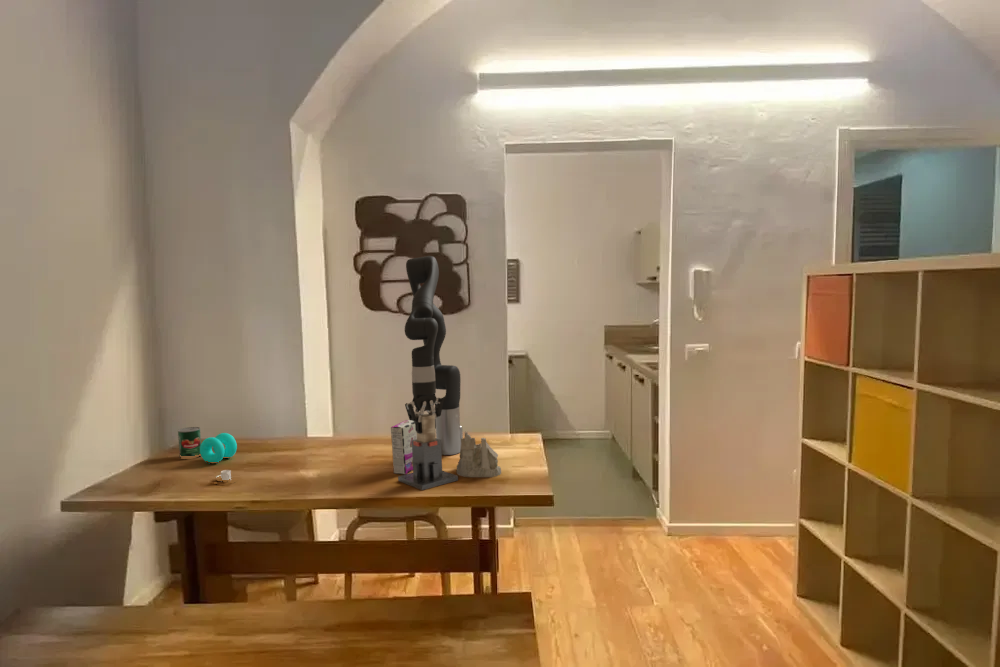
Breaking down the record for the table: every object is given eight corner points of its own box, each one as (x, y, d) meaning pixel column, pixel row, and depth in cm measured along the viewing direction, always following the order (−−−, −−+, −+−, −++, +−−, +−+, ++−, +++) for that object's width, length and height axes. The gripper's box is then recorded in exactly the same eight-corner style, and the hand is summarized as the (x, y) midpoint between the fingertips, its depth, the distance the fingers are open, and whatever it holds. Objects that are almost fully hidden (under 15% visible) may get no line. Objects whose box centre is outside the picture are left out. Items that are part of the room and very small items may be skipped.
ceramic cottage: (496, 478, 214) (493, 432, 214) (449, 477, 218) (446, 432, 218) (509, 467, 229) (507, 424, 229) (465, 467, 233) (462, 425, 233)
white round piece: (213, 480, 223) (213, 469, 223) (238, 477, 226) (238, 466, 226) (212, 488, 215) (212, 476, 215) (238, 484, 218) (238, 472, 218)
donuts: (199, 464, 244) (197, 437, 243) (217, 457, 254) (215, 431, 253) (221, 465, 241) (219, 438, 240) (239, 458, 251) (237, 432, 250)
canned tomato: (188, 460, 249) (186, 432, 249) (175, 458, 253) (173, 430, 253) (206, 455, 256) (204, 427, 255) (193, 453, 260) (191, 426, 259)
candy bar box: (408, 464, 233) (406, 419, 232) (420, 465, 232) (418, 420, 230) (392, 473, 223) (390, 426, 222) (405, 474, 221) (403, 427, 220)
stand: (433, 471, 224) (431, 432, 223) (458, 480, 213) (456, 439, 212) (398, 480, 215) (396, 440, 214) (422, 490, 204) (420, 447, 203)
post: (429, 472, 217) (427, 413, 216) (437, 475, 214) (435, 415, 212) (417, 475, 214) (415, 415, 213) (425, 478, 211) (423, 417, 209)
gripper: (435, 376, 219) (437, 426, 220) (398, 381, 210) (400, 433, 211) (448, 378, 213) (450, 429, 214) (411, 383, 204) (413, 437, 205)
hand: (425, 431), depth 213 cm, fingers closed on post, 4 cm apart
